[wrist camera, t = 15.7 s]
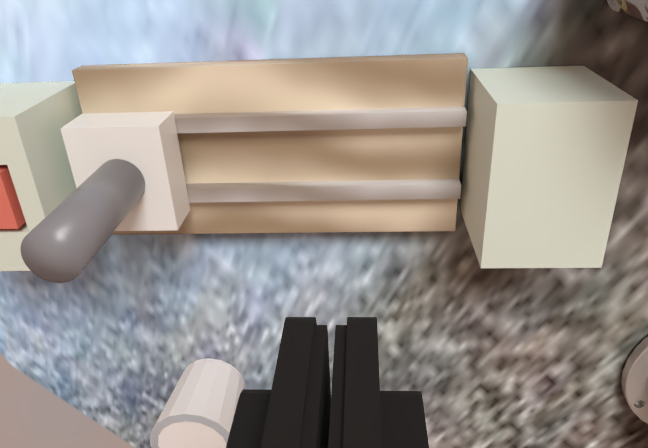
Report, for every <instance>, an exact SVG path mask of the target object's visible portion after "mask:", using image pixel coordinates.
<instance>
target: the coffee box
mask: <svg viewBox="0 0 648 448" xmlns="http://www.w3.org/2000/svg"><path fill="white" fill-rule="evenodd" d="M607 2H608V4H609V6H610V8H611V9H612V10H614V11H616V12H619V13H623V14H626V15H629V16H632V17H635V18H638V19H641V20H644V21H647V22H648V0H607Z"/></svg>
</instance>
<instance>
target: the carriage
mask: <svg viewBox="0 0 648 448" xmlns="http://www.w3.org/2000/svg"><path fill="white" fill-rule="evenodd" d="M60 129H61V133H62V137H63V140H64V144H65V148H66V151H67V155H68V159H69V163H70V166H71V170H72V174H73V177H74V181H75V185H76V188H77V189H76V190H74V191H73V192H72V193H71V194H70V195H69V196H68V197H67V198H66V199H65V200H64V201H63V202H62V203H60V204H59V205H58V206H57V207H56V208H55V209H54V210H53V211H52V212H51V213H50V214H49V215H48V216H47V217H45V218H44V219H43V220H42V221H41V222H40V223H39V224H38V225H37V226H36V227H35V228H34V229H33V230H31V231H30V232H29V233H28V234H27V235H26V236H25V237H24V239H23V240H22V243H21V248H20V251H21V256H22V259H23V261H24V263H25V264H26V266H27V267H28V268H29V269H30V270H31V271H32V272H33V273H34V274H36V275H37V276H39V277H40V278H42V279H44V280H47V281H51V282H56V283H63V282H68V281H71V280H73V279H74V278H76V277H77V276H78V275H79V274H80V272H81V271H82V270H83V269H84V267H85V266H86V265H87V264H88V263H89V261H90V260H91V259H92V258H93V256H94V255H95V254H96V253H97V251H98V250H99V249H100V248H101V246H102V245H103V244H104V243H105V241H106V240H107V239H108V238H109V236H110V235H111V234H112V233H113V231H171V230H178V229H179V228H180V226H181V224H182V223H183V221H184V219H185V218H186V216H187V214H188V213H189V211H190V205H189V200H188V194H187V188H186V182H185V176H184V171H183V165H182V159H181V153H180V147H179V141H178V136H177V130H176V124H175V118H174V112H173V111H164V112H126V113H87V114H81V115H79V116H78V117H76V118H75V119H74V120H72V121H71V122H69V123H68V124H66V125H65V126H63V127H62V128H60Z"/></svg>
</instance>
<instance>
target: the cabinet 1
mask: <svg viewBox="0 0 648 448" xmlns="http://www.w3.org/2000/svg"><path fill="white" fill-rule="evenodd" d="M81 114H83V113H82V109H81V105H80V101H79V97H78V93H77V89H76V85H75V81H58V82H25V83H0V165H7V166H8V169H9V172H10V175H11V178H12V181H13V184H14V187H15V190H16V193H17V196H18V199H19V203H20V206H21V209H22V212H23V215H24V218H25V221H26V222H25V223H24V224H23V225H22V226H21V227H20V228H18V229H0V271H31V270H30V269H29V268H28V267H27V266H26V264H25V263H24V261H23V259H22V256H21V251H20V248H21V243H22V240H23V239H24V237H25V236H26V235H27V234H28V233H29V232H30V231H31V230H33V229H34V228H35V227H36V226H37V225H38V224H39V223H40V222H41V221H42V220H43V219H44V218H45V217H47V216H48V215H49V214H50V213H51V212H52V211H53V210H54V209H55V208H56V207H57V206H58V205H59V204H60V203H62V202H63V201H64V200H65V199H66V198H67V197H68V196H69V195H70V194H71V193H72V192H73V191H74V190H76V189H77V188H76V185H75V181H74V177H73V174H72V170H71V166H70V163H69V159H68V155H67V151H66V148H65V144H64V140H63V137H62V133H61V129H60V128H62V127H63V126H65V125H66V124H68V123H69V122H71V121H72V120H74V119H75V118H76V117H78V116H79V115H81Z"/></svg>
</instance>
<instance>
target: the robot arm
mask: <svg viewBox="0 0 648 448" xmlns="http://www.w3.org/2000/svg"><path fill="white" fill-rule="evenodd" d="M621 384H622V391H623V394H624V397H625V399H626V401H627V403H628V405H629V406H630V408H631V409H632V411H633V413H634V414H635V415H636V416H637V417H638V418H639V419H641V420H642V421H643V422H645V423H646V424H648V336H647V337H646V338H645V339H644V340H643V341H642V342H641V343H640V344H639V345H638V346H637V347H636V348H635V349H634V351H633V352H632V354H631V355H630V357H629V358H628V360H627V362H626V364H625V367H624V369H623V373H622V380H621ZM226 448H429V445H428V437H427V430H426V422H425V414H424V407H423V399H422V394H421V391H380V386H379V361H378V336H377V317H348V318H347V325H336V330H335V346H334V362H333V378H332V393H331V390H330V370H329V351H328V331H327V325H317V324H316V318H315V317H286V319H285V323H284V328H283V333H282V338H281V344H280V349H279V354H278V359H277V364H276V370H275V375H274V380H273V385H272V390H242V392H241V393H240V396H239V399H238V402H237V406H236V410H235V414H234V418H233V422H232V426H231V430H230V433H229V437H228V441H227V445H226Z"/></svg>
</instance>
